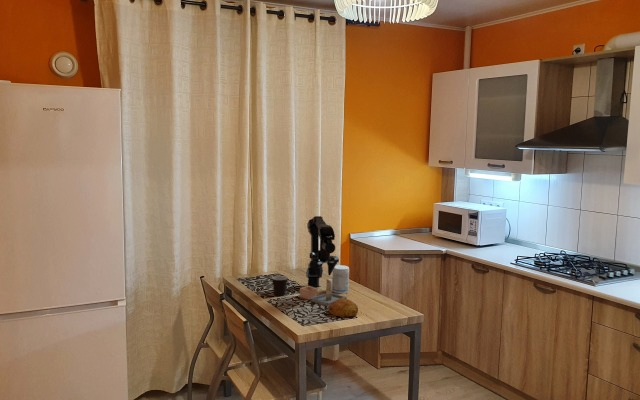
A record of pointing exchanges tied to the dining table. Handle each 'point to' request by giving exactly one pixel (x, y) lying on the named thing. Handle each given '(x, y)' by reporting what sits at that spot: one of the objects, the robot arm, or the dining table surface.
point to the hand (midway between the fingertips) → (324, 276)
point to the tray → (323, 301)
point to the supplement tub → (340, 279)
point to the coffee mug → (279, 285)
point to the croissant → (343, 308)
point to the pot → (308, 292)
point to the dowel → (329, 290)
